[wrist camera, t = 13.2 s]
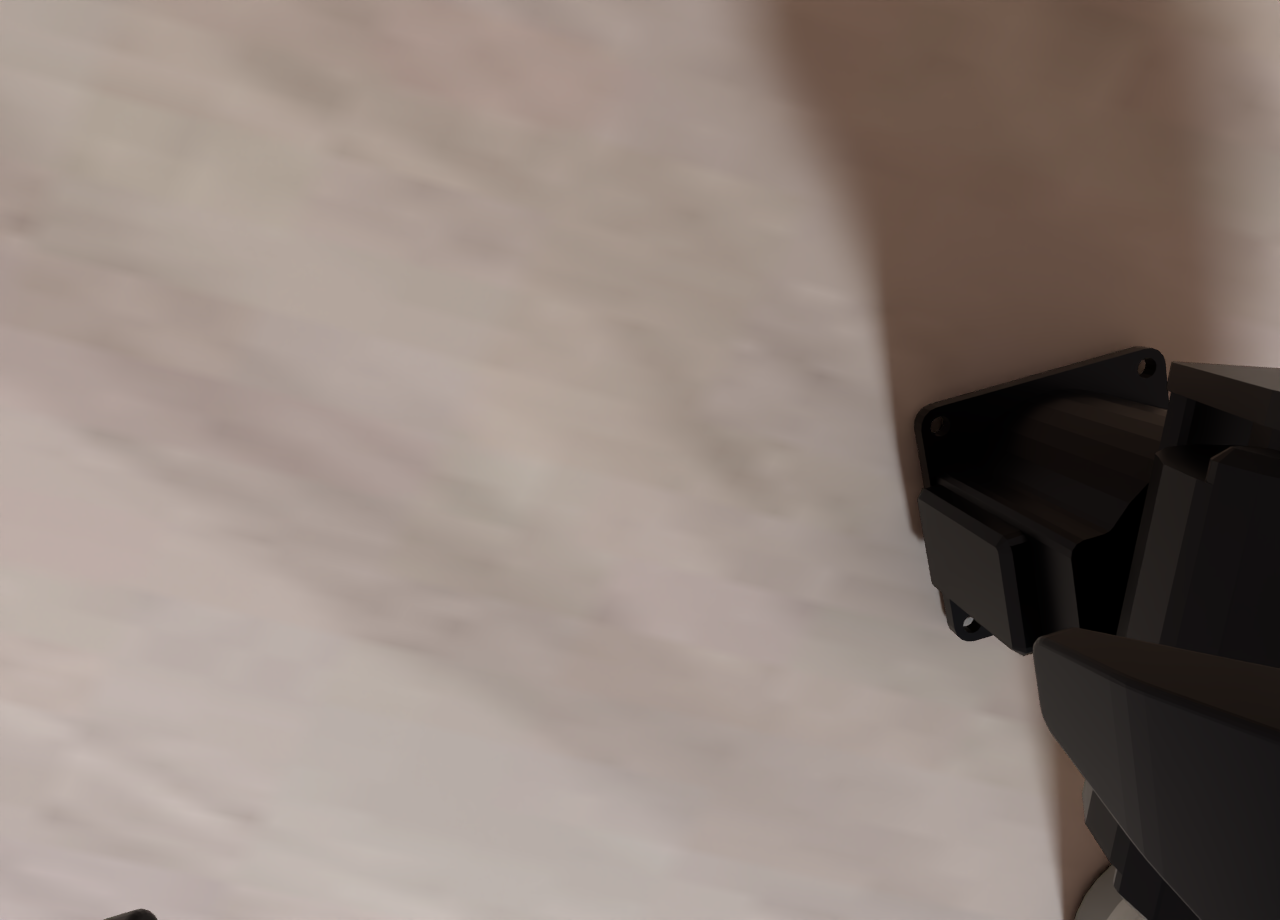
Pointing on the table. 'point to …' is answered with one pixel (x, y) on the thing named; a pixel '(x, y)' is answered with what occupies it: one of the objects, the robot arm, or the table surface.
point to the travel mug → (1105, 901)
